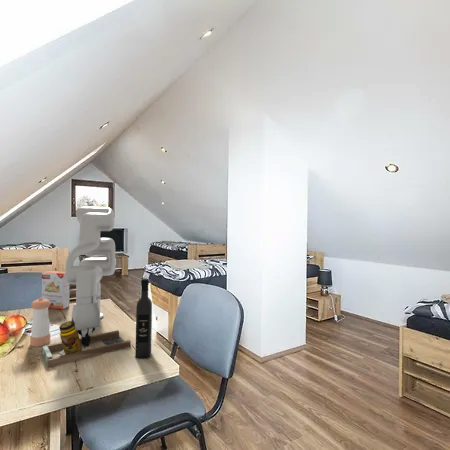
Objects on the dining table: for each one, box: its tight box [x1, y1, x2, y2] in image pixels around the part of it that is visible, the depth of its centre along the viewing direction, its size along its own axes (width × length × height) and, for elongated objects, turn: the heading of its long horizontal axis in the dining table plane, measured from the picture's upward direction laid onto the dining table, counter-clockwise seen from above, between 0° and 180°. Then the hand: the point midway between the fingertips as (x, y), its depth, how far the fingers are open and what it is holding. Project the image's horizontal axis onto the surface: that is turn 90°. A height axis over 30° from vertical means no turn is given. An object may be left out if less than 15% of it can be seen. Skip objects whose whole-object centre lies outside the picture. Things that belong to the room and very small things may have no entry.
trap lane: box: [41, 329, 132, 368], centre depth 125 cm, size 15×30×3 cm, turn 129°
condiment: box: [58, 320, 88, 356], centre depth 120 cm, size 7×8×12 cm
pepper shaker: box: [29, 297, 51, 347], centre depth 130 cm, size 7×7×19 cm
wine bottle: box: [134, 278, 153, 359], centre depth 121 cm, size 6×6×30 cm
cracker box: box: [41, 270, 71, 310], centre depth 180 cm, size 14×6×21 cm, turn 81°
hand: (85, 345), depth 124 cm, fingers closed
